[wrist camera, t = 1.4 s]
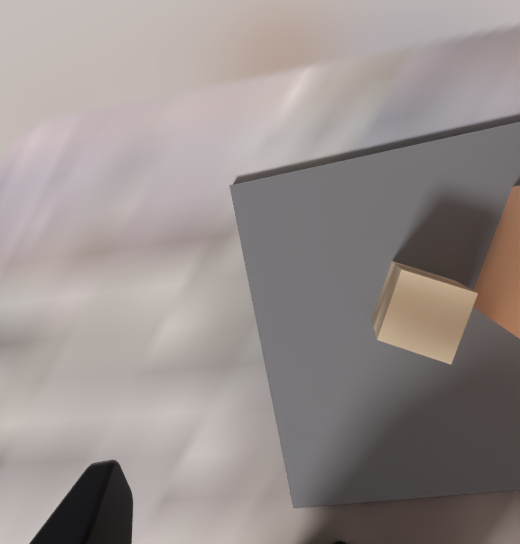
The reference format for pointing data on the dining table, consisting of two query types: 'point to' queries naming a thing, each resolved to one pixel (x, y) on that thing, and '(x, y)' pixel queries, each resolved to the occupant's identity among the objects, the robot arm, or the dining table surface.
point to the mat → (359, 328)
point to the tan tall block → (503, 270)
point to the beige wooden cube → (422, 312)
